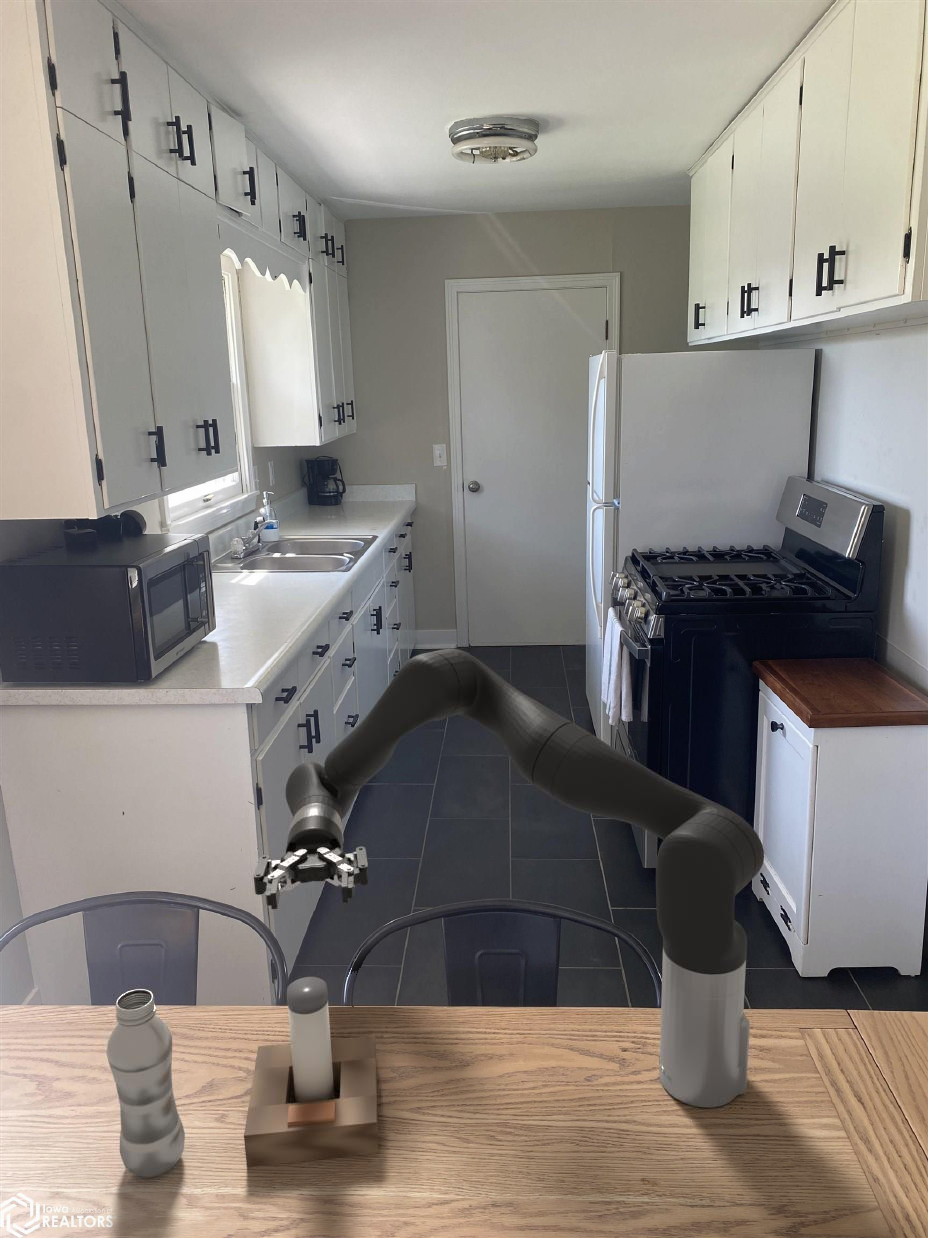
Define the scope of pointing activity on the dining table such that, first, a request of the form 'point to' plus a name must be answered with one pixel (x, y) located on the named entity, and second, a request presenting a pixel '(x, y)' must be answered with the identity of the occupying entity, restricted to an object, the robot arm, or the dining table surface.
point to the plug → (310, 1040)
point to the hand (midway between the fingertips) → (309, 899)
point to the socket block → (313, 1107)
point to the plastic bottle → (144, 1086)
